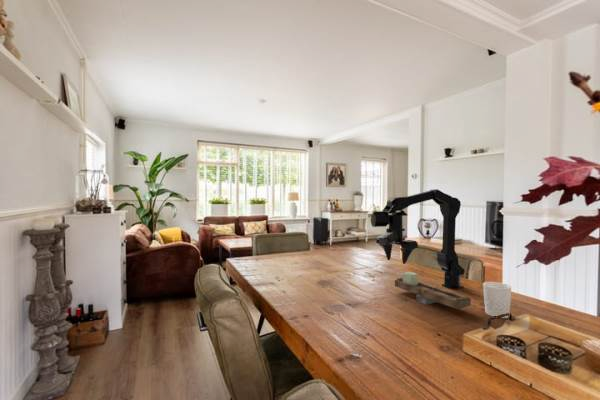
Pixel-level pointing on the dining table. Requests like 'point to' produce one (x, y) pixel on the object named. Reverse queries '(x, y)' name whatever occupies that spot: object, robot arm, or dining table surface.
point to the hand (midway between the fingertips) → (396, 261)
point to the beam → (434, 295)
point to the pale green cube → (410, 278)
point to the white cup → (497, 298)
